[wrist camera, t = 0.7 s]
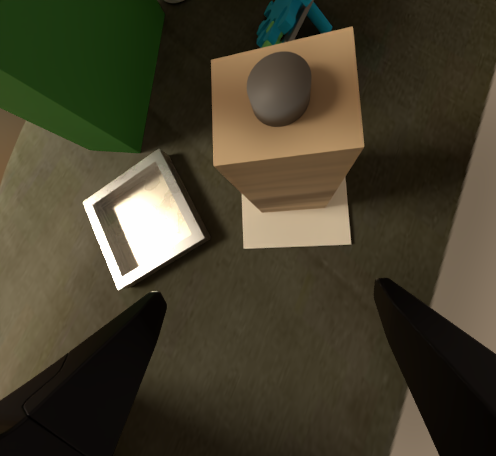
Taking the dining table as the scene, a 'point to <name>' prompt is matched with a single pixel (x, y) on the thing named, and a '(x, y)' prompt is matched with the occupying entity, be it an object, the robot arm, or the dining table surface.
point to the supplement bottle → (173, 1)
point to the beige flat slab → (298, 224)
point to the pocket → (145, 220)
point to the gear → (289, 21)
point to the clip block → (288, 120)
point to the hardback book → (81, 67)
